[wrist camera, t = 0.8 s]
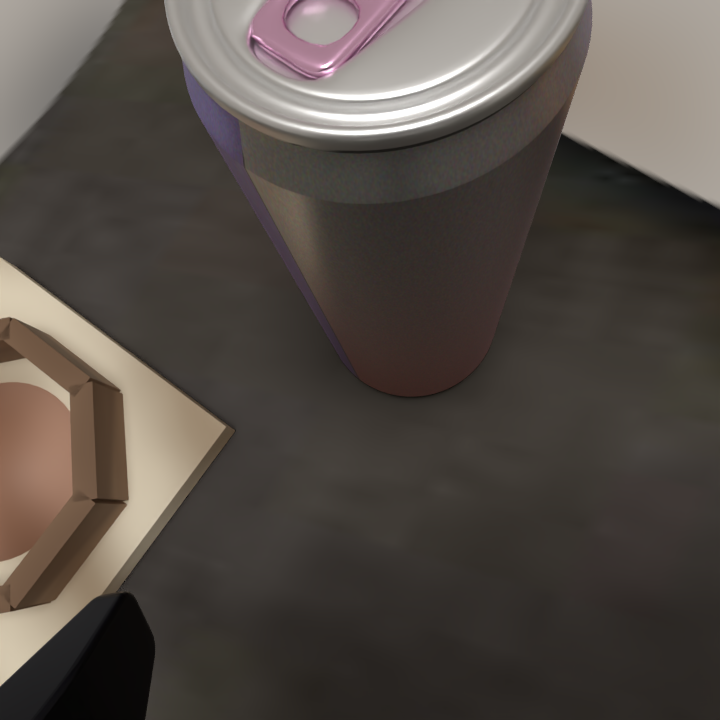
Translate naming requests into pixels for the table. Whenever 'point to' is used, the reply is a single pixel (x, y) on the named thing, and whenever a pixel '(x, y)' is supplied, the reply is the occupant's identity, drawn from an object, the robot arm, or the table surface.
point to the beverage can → (390, 157)
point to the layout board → (153, 457)
